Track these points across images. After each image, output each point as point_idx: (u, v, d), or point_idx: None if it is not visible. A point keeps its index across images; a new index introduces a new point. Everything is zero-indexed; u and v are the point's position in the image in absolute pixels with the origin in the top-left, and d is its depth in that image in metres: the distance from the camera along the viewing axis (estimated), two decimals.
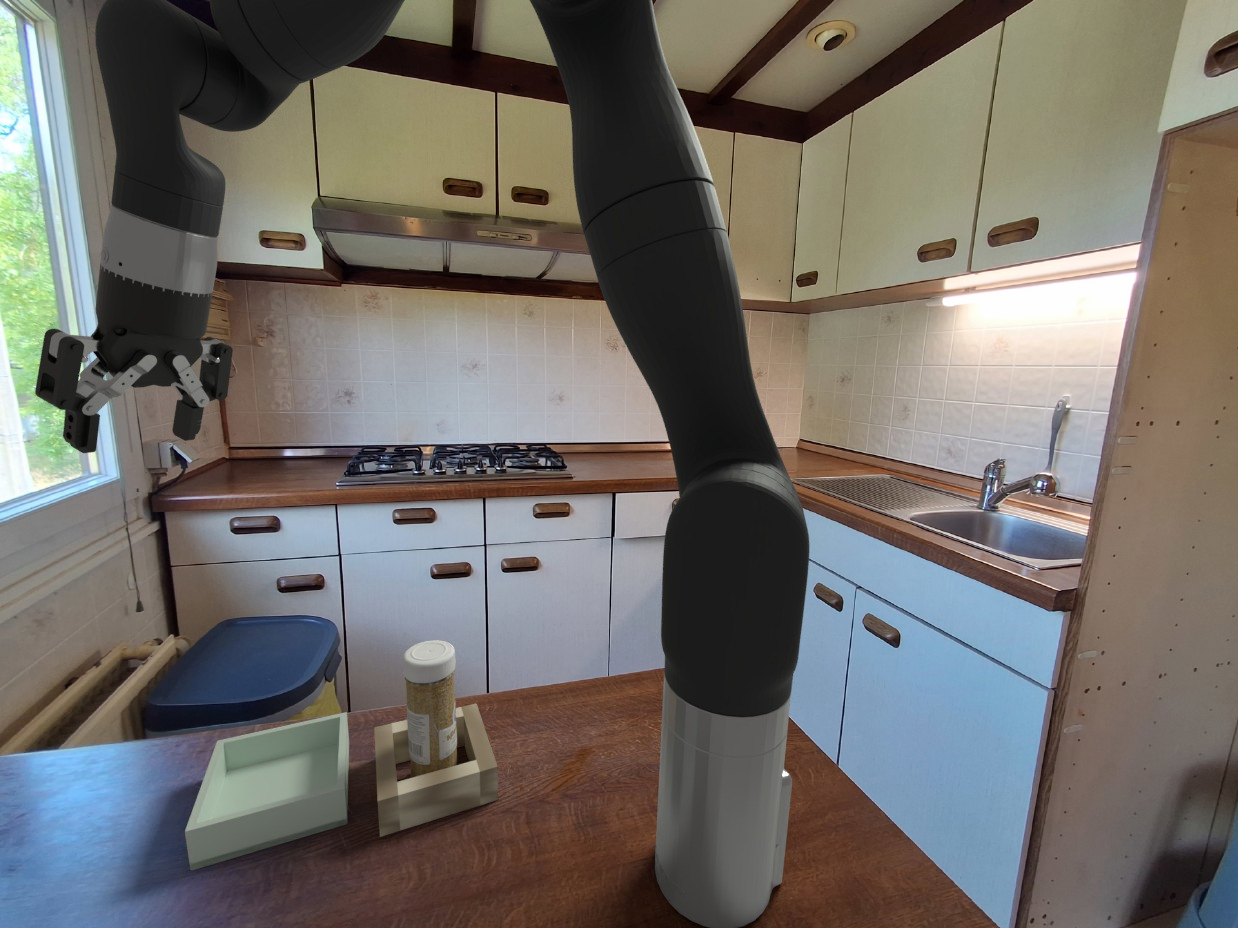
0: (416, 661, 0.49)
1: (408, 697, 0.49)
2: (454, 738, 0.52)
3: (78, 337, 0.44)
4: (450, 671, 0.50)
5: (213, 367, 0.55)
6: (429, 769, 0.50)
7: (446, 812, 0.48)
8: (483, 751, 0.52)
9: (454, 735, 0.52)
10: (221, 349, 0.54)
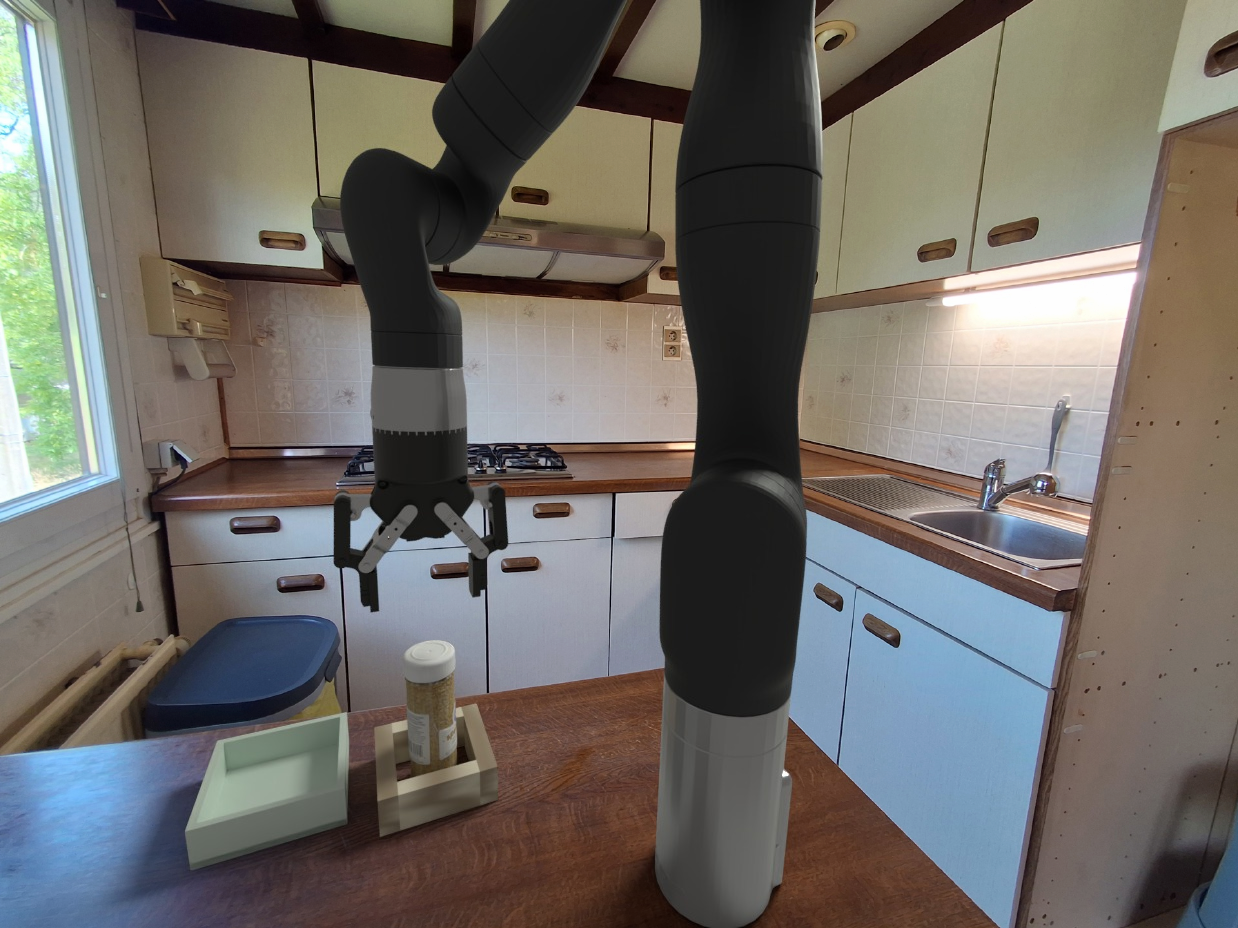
0: (416, 661, 0.49)
1: (408, 697, 0.50)
2: (454, 738, 0.52)
3: (353, 495, 0.45)
4: (450, 671, 0.50)
5: (491, 513, 0.50)
6: (429, 769, 0.50)
7: (446, 812, 0.48)
8: (483, 751, 0.52)
9: (454, 735, 0.52)
10: (491, 492, 0.49)
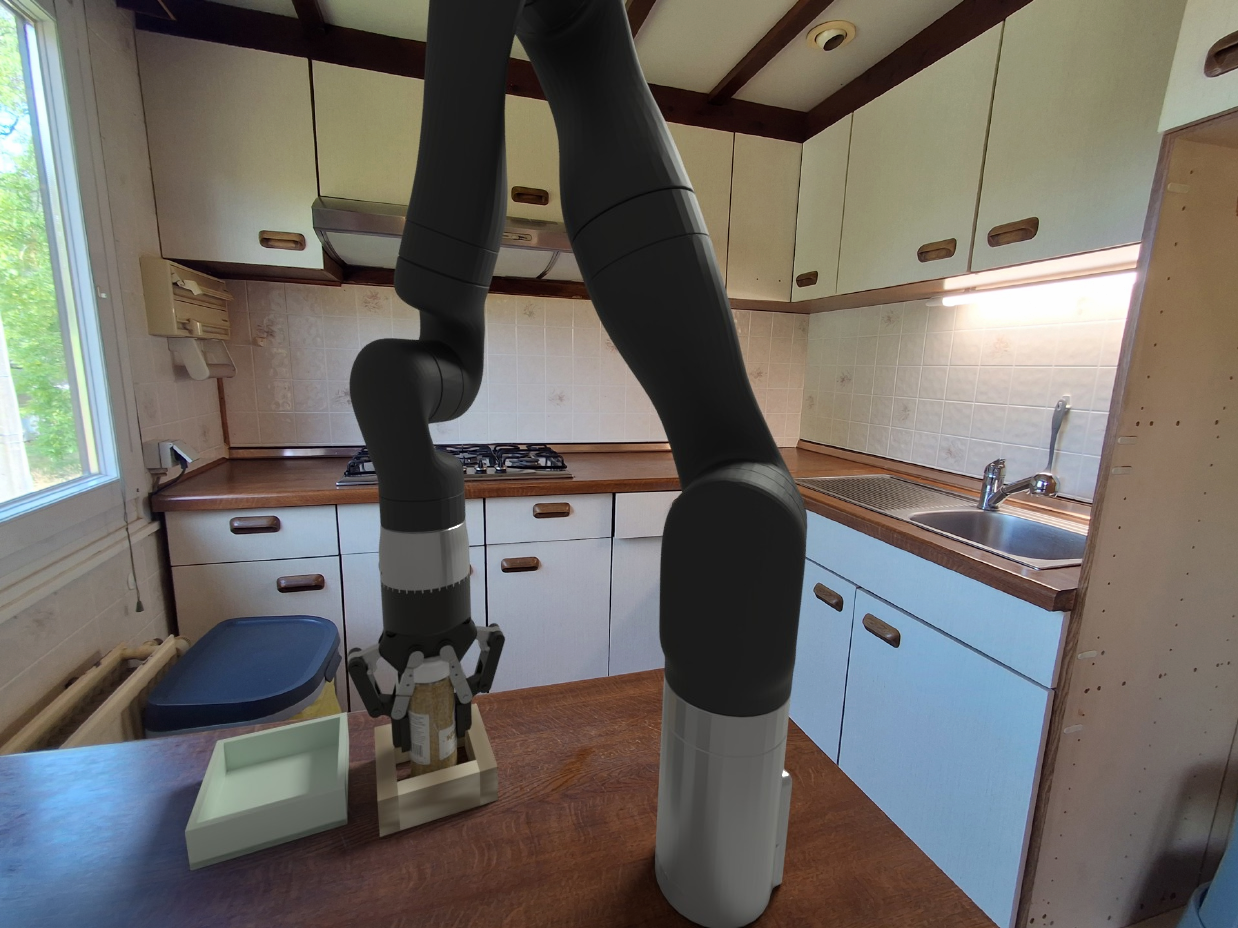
0: None
1: None
2: (454, 738, 0.52)
3: (363, 652, 0.48)
4: None
5: (485, 655, 0.52)
6: (429, 769, 0.50)
7: (446, 812, 0.48)
8: (483, 751, 0.52)
9: (454, 735, 0.52)
10: (493, 638, 0.51)
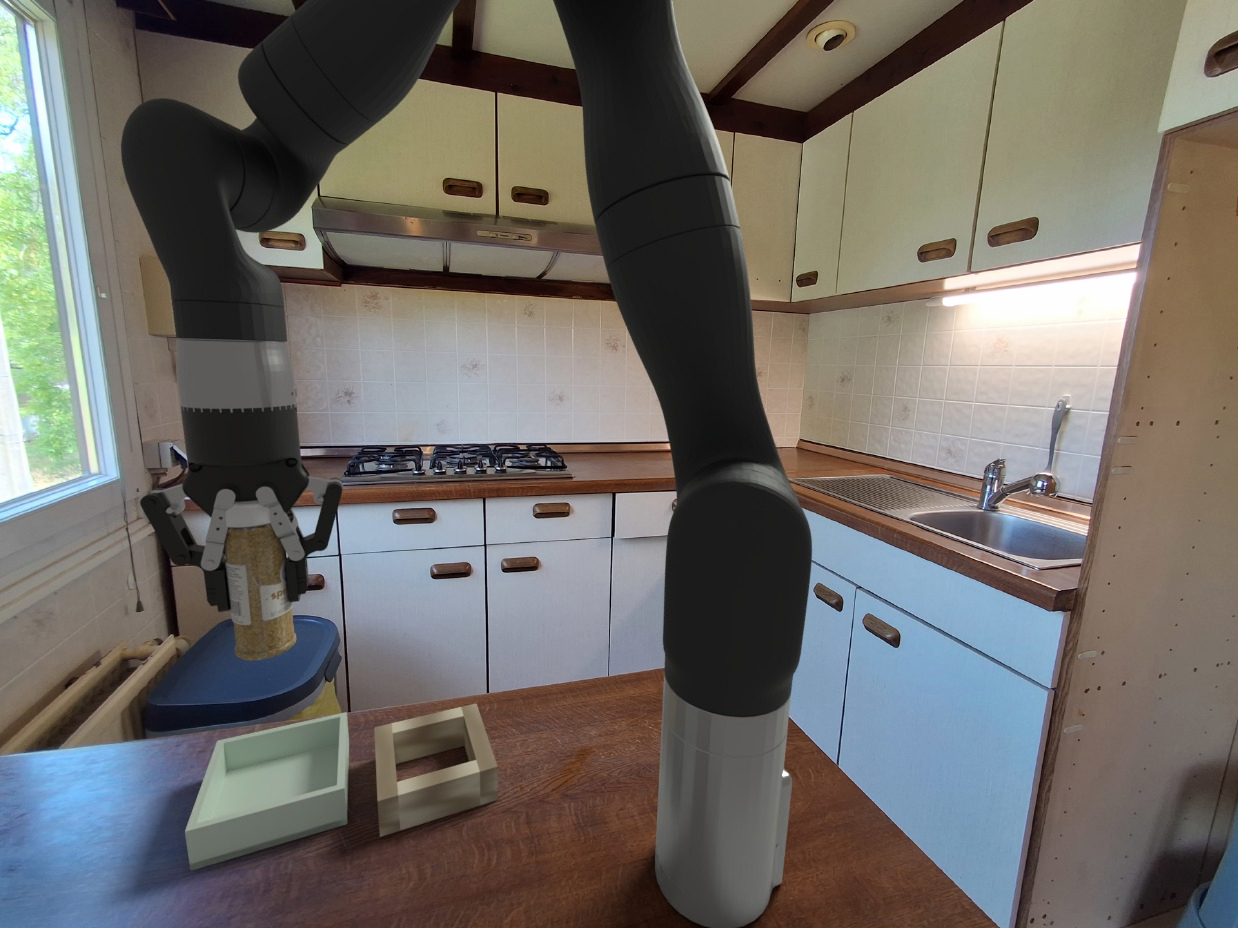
0: None
1: (224, 547, 0.44)
2: (284, 600, 0.46)
3: (165, 490, 0.42)
4: None
5: None
6: (251, 631, 0.45)
7: (446, 812, 0.48)
8: (483, 751, 0.52)
9: (284, 596, 0.46)
10: (327, 487, 0.46)
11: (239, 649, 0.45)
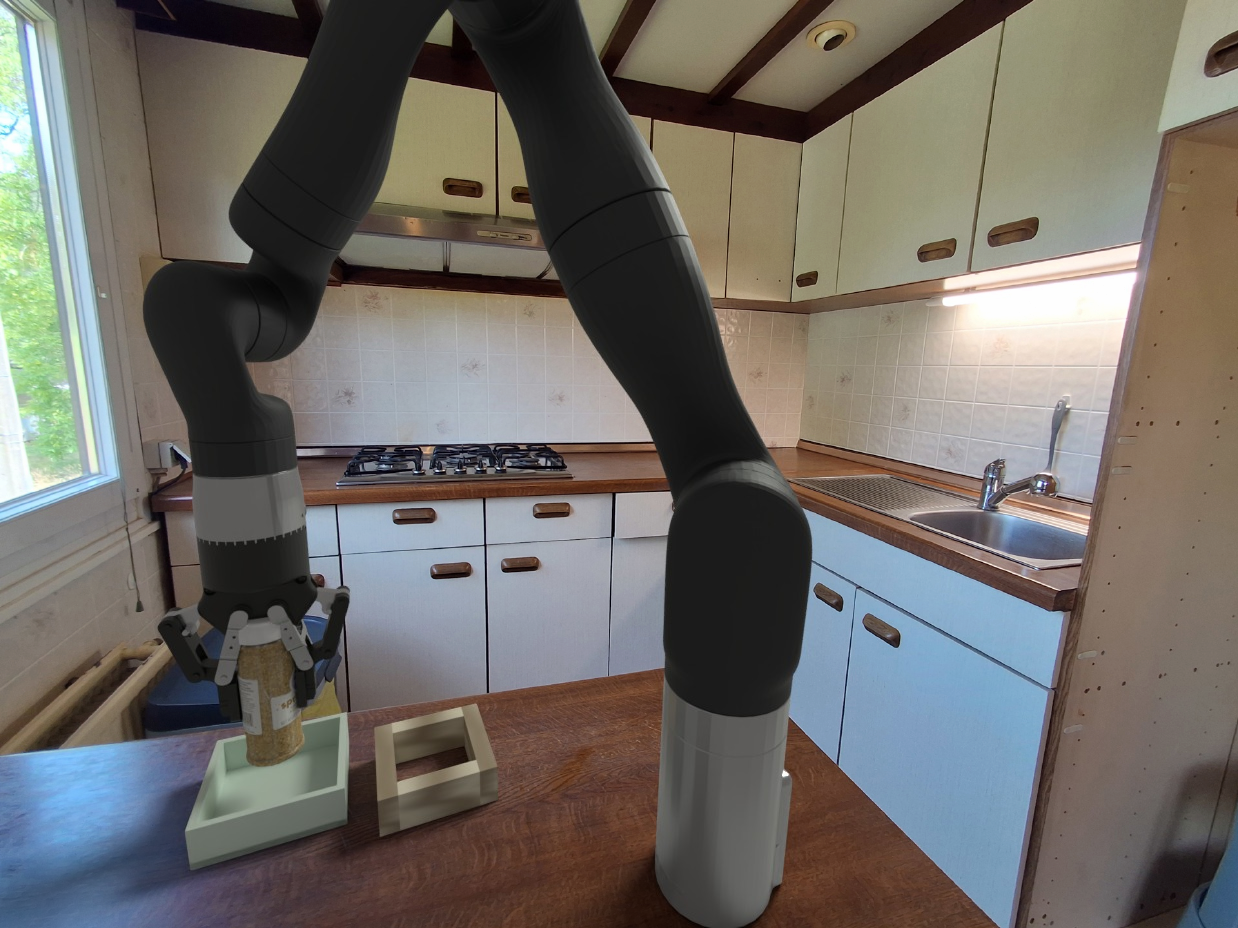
0: None
1: (237, 661, 0.46)
2: (294, 707, 0.48)
3: (180, 611, 0.44)
4: None
5: (329, 619, 0.48)
6: (262, 739, 0.47)
7: (446, 812, 0.48)
8: (483, 751, 0.52)
9: (293, 704, 0.48)
10: (335, 599, 0.48)
11: (250, 756, 0.47)
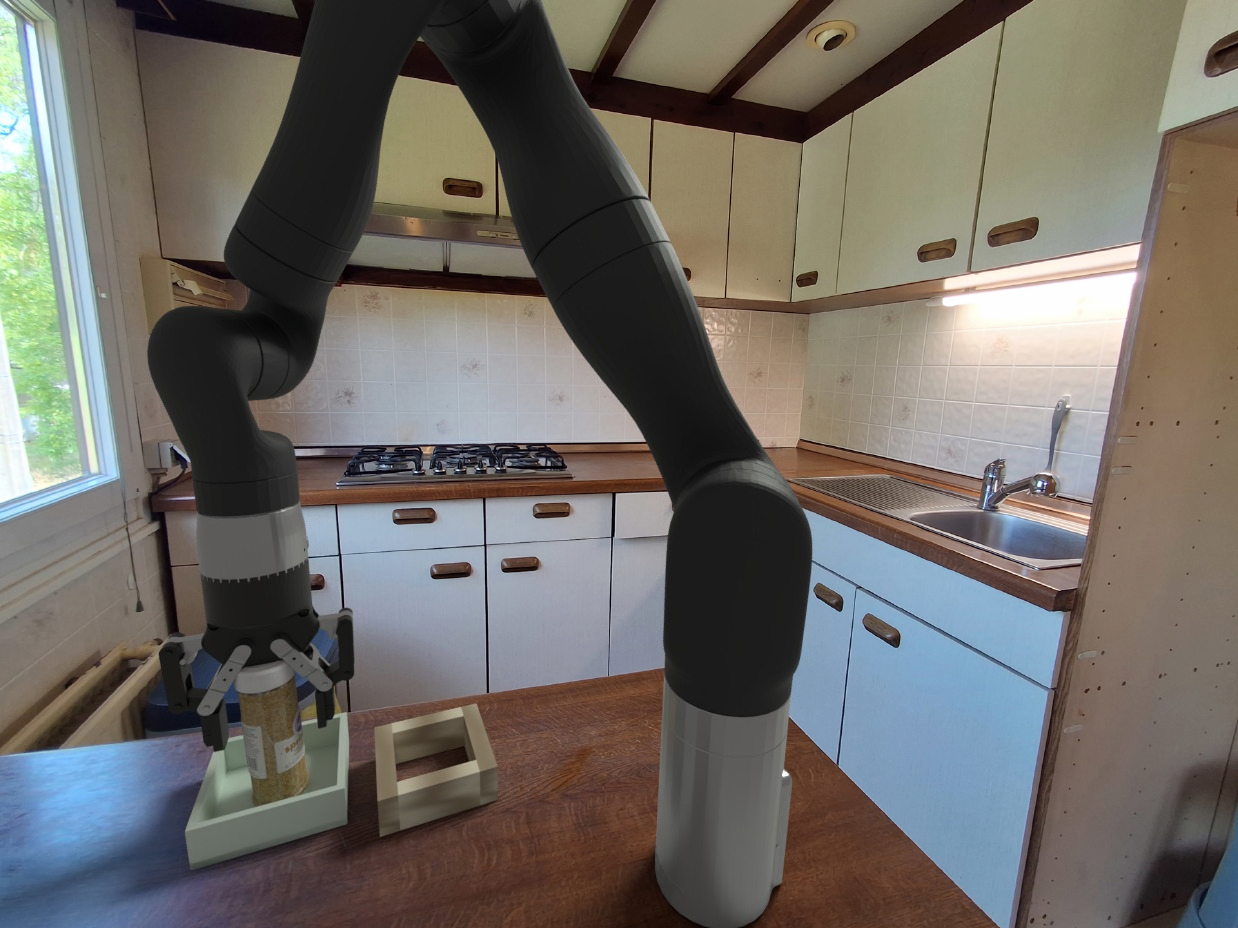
0: (244, 670, 0.45)
1: (240, 708, 0.46)
2: (297, 750, 0.49)
3: (184, 639, 0.44)
4: (285, 680, 0.47)
5: None
6: (267, 783, 0.47)
7: (446, 812, 0.48)
8: (483, 751, 0.52)
9: (297, 746, 0.49)
10: (337, 624, 0.48)
11: (256, 799, 0.48)
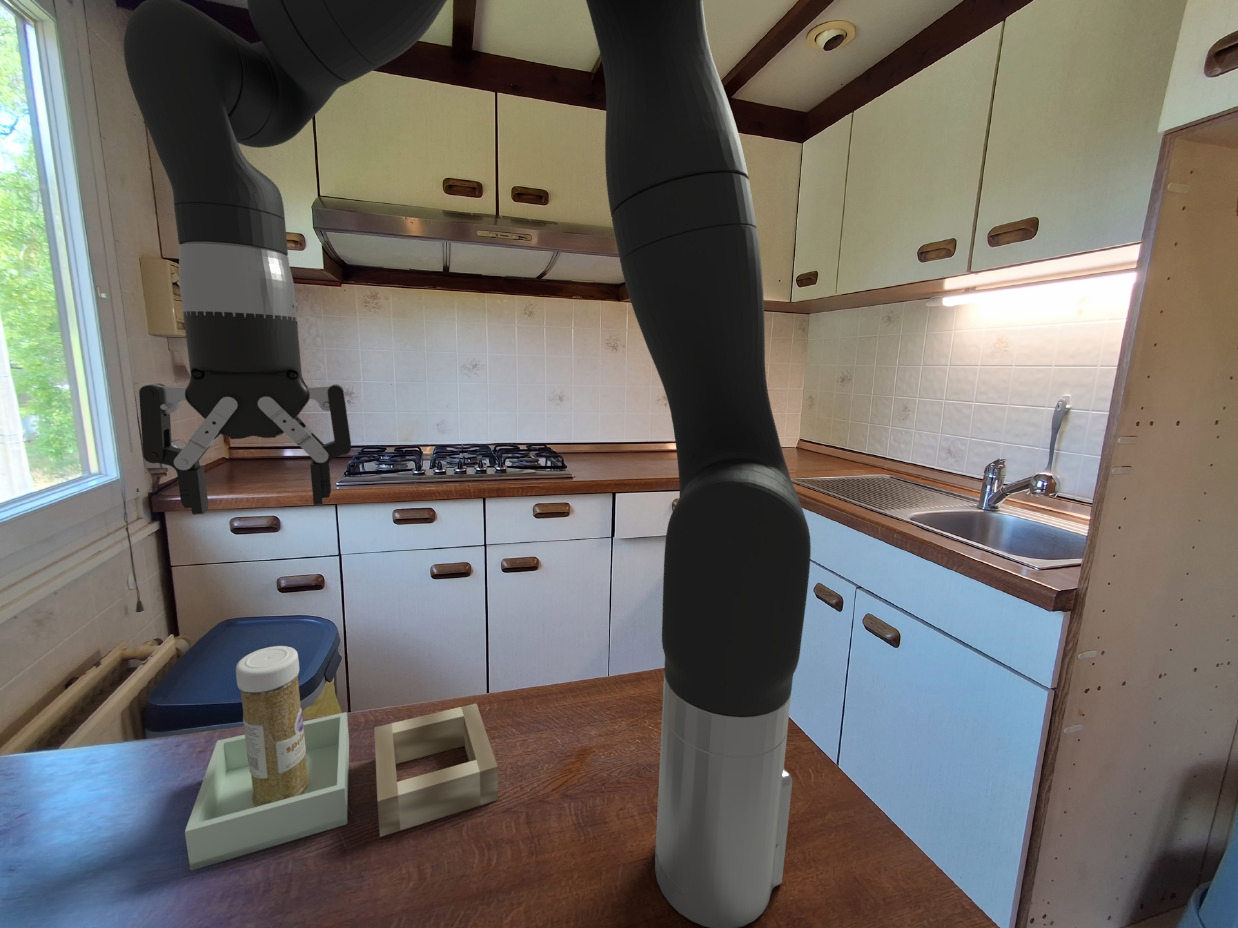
0: (247, 668, 0.46)
1: (243, 707, 0.47)
2: (298, 750, 0.49)
3: (167, 387, 0.42)
4: (288, 679, 0.47)
5: None
6: (267, 783, 0.47)
7: (446, 812, 0.48)
8: (483, 751, 0.52)
9: (298, 747, 0.49)
10: (327, 391, 0.46)
11: (256, 798, 0.48)
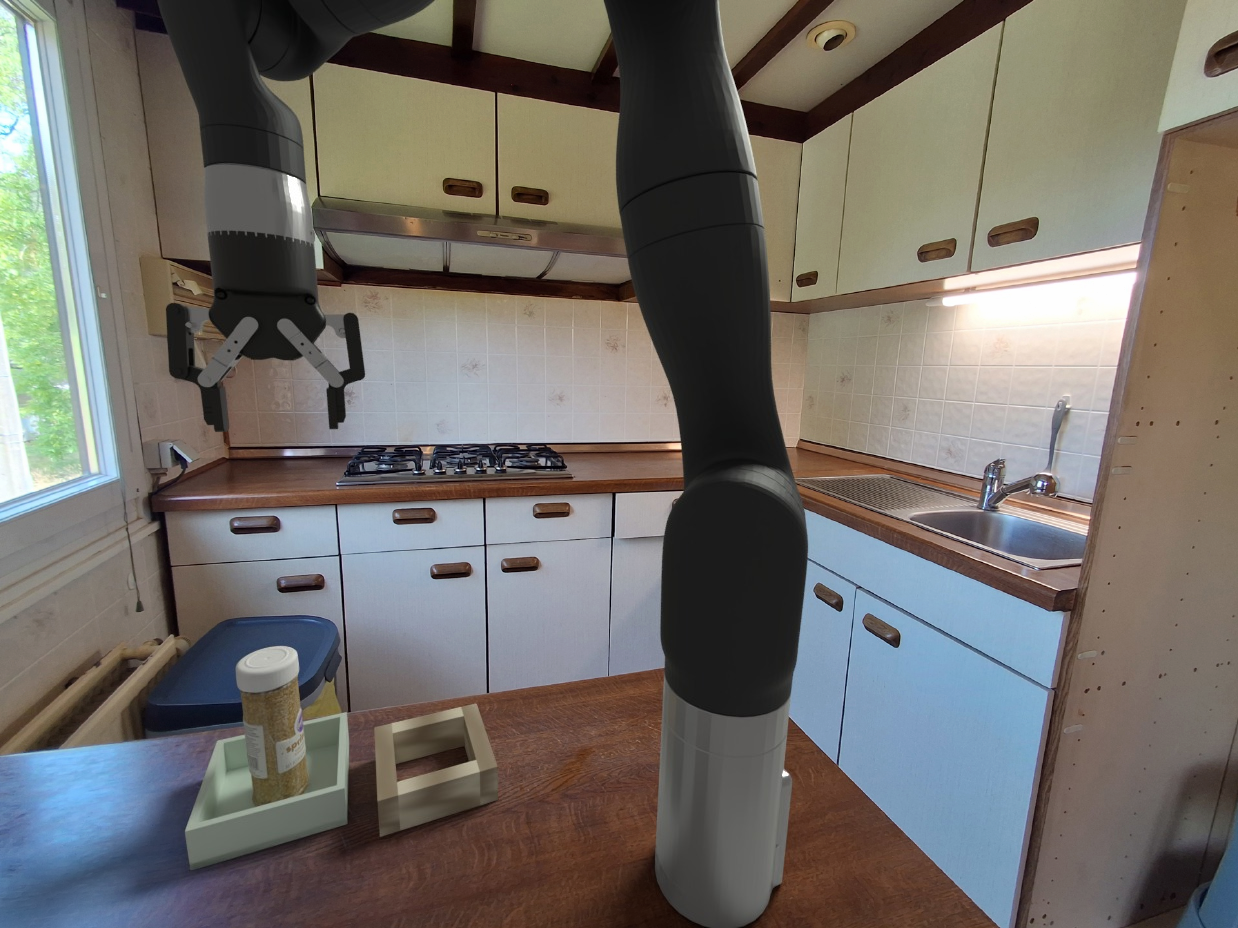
0: (247, 668, 0.46)
1: (242, 707, 0.47)
2: (298, 750, 0.49)
3: (191, 307, 0.45)
4: (287, 679, 0.47)
5: None
6: (267, 783, 0.47)
7: (446, 812, 0.48)
8: (483, 751, 0.52)
9: (298, 747, 0.49)
10: (343, 317, 0.48)
11: (256, 798, 0.48)
